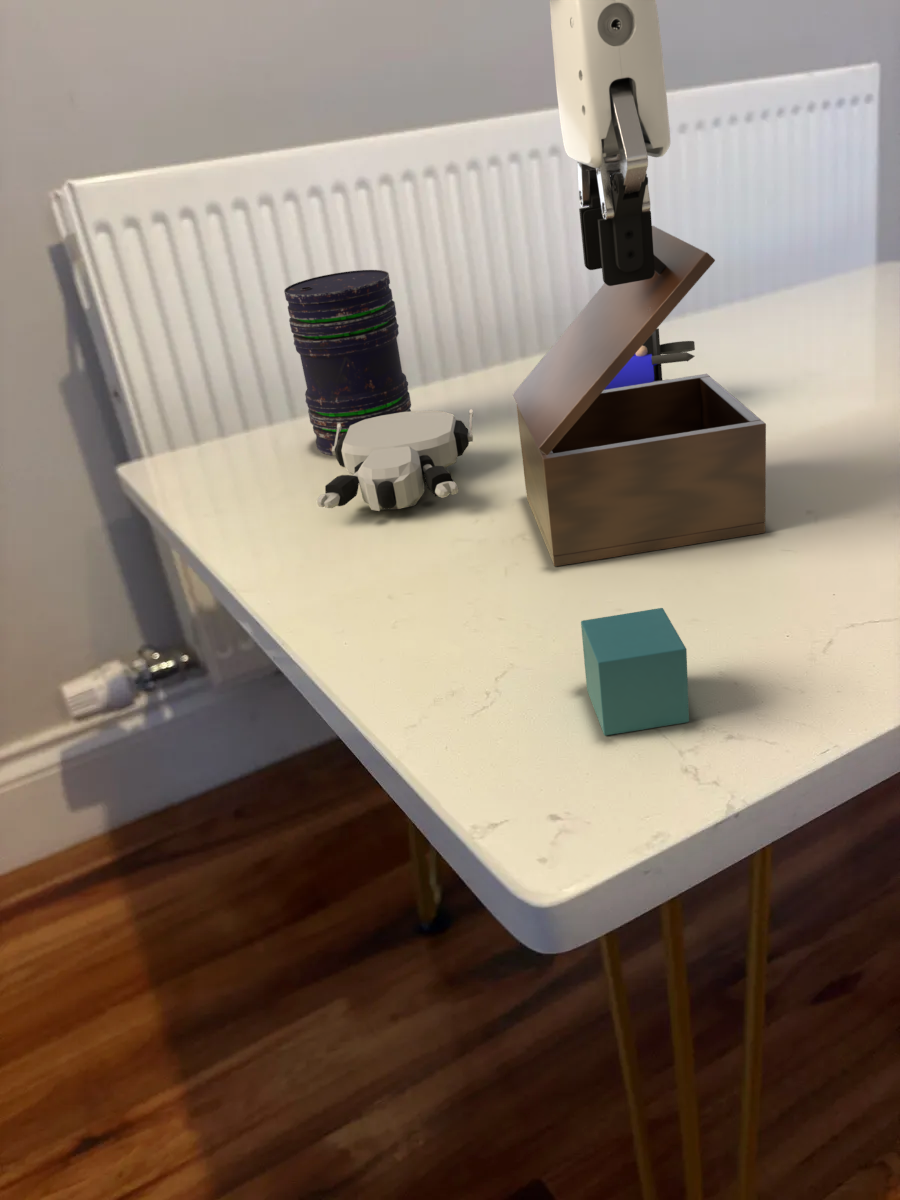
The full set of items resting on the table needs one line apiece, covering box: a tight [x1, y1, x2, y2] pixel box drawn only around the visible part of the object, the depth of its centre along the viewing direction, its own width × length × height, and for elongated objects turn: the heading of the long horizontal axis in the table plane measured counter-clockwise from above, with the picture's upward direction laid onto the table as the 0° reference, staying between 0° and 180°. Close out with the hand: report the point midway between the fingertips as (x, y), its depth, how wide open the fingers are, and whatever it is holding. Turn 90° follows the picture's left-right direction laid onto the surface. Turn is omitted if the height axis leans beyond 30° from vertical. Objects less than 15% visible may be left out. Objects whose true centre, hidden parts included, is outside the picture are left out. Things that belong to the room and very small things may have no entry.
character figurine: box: [604, 327, 696, 390], centre depth 94 cm, size 8×7×15 cm
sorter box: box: [515, 373, 767, 567], centre depth 74 cm, size 15×13×8 cm
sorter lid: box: [511, 225, 716, 455], centre depth 68 cm, size 15×13×5 cm
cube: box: [580, 607, 690, 737], centre depth 53 cm, size 4×4×4 cm
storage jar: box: [283, 269, 412, 456], centre depth 97 cm, size 10×10×15 cm
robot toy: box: [316, 408, 474, 512], centre depth 86 cm, size 12×4×15 cm
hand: (618, 270), depth 67 cm, fingers closed on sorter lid, 5 cm apart
